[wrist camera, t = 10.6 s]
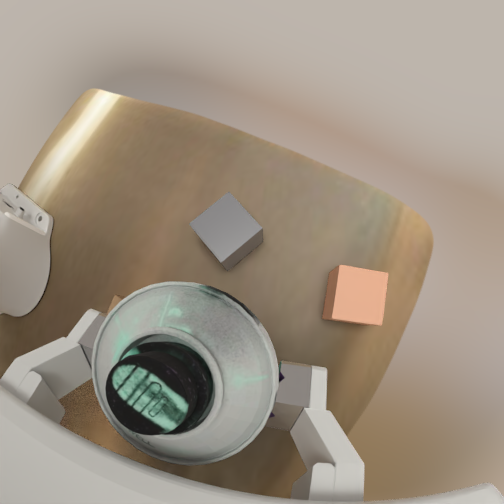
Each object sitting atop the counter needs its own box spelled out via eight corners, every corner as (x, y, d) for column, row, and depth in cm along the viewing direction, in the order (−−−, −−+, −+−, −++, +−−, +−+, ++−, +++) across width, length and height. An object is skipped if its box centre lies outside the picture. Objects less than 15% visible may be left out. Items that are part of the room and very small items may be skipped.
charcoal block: (199, 237, 34) (188, 223, 29) (234, 209, 34) (228, 191, 29) (227, 271, 33) (221, 262, 28) (263, 241, 33) (262, 228, 28)
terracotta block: (321, 318, 31) (331, 318, 26) (329, 272, 32) (339, 264, 27) (365, 325, 31) (381, 325, 26) (371, 280, 32) (388, 273, 27)
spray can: (206, 308, 25) (54, 242, 6) (271, 317, 25) (306, 274, 5) (198, 371, 24) (39, 461, 4) (263, 381, 23) (266, 530, 4)
